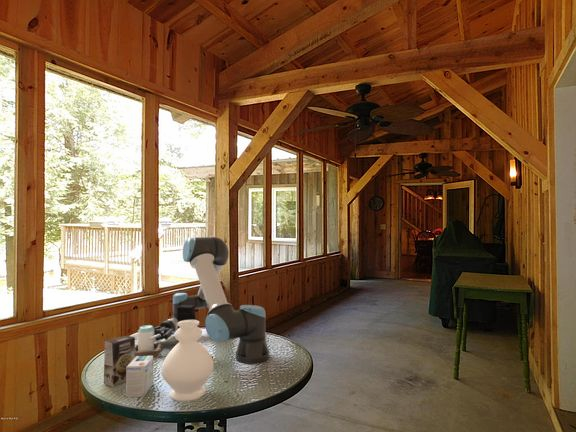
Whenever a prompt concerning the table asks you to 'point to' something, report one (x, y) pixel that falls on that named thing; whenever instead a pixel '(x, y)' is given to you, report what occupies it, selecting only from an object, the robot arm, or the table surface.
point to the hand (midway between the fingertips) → (140, 339)
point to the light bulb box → (139, 376)
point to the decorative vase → (187, 364)
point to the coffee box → (118, 359)
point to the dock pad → (168, 341)
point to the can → (145, 338)
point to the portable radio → (185, 313)
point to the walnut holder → (149, 353)
